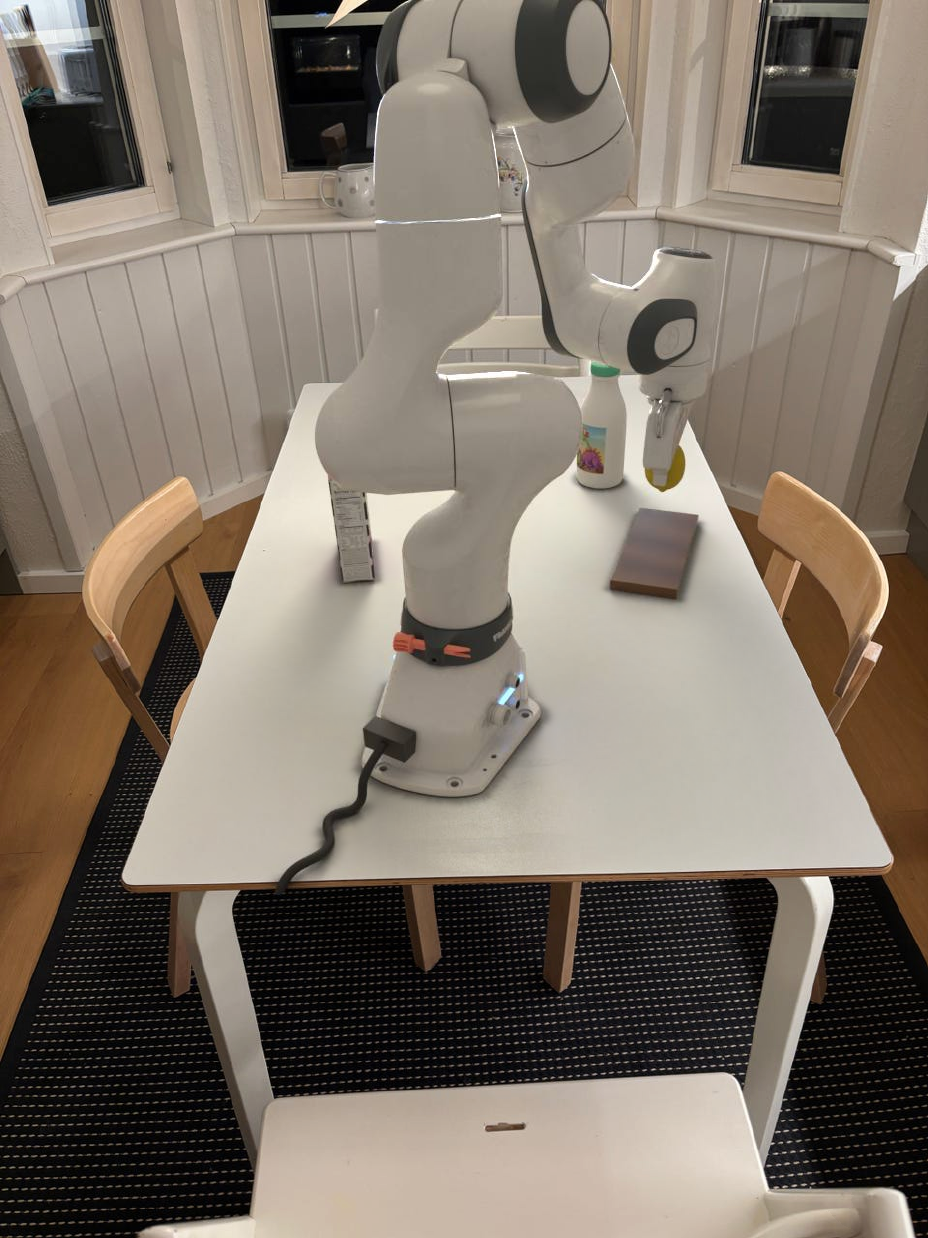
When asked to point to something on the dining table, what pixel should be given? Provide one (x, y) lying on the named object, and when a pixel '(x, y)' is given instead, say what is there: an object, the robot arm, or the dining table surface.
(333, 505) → the candy bar box
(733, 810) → the dining table surface
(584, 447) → the milk bottle
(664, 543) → the serving board
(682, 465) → the lemon
